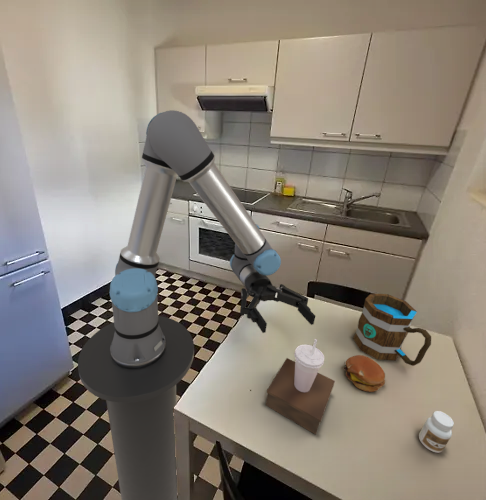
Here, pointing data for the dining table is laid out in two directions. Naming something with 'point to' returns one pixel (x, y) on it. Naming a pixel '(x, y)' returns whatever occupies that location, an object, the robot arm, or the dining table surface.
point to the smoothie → (307, 365)
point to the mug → (387, 328)
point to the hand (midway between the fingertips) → (289, 324)
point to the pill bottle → (436, 431)
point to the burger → (364, 373)
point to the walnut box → (299, 397)
